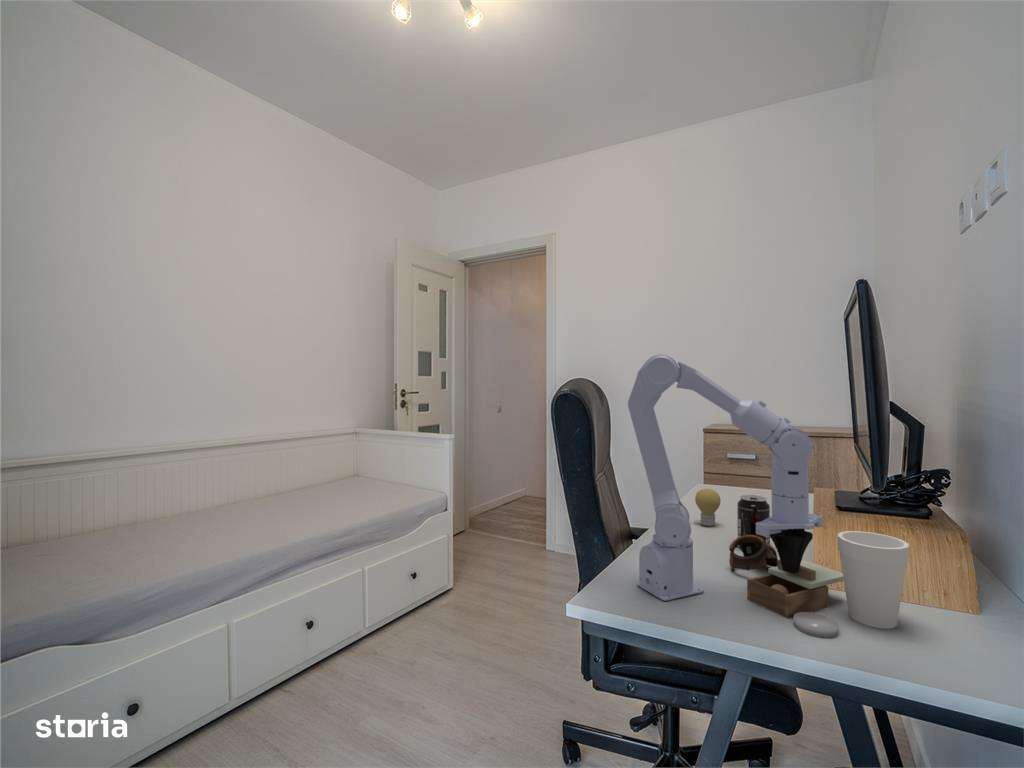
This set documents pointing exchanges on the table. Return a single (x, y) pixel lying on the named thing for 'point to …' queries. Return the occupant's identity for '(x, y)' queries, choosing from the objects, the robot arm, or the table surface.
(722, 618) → the table surface
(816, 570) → the lid
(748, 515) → the beverage can
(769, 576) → the box
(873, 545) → the foam cup
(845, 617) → the table surface
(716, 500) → the light bulb
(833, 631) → the grey piece
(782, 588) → the ball
